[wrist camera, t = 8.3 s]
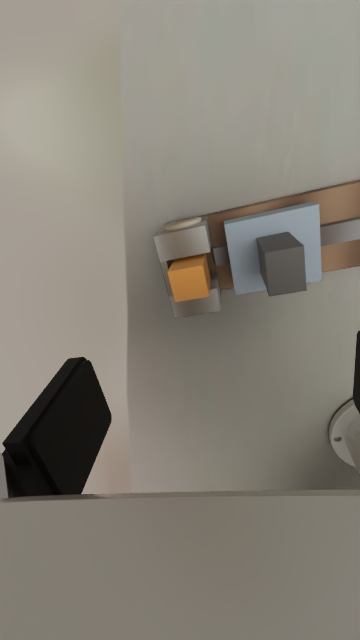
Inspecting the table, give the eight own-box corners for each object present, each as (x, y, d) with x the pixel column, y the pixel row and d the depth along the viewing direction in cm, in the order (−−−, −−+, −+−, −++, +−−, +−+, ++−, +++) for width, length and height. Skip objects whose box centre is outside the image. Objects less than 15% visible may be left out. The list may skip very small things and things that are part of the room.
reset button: (205, 252, 25) (202, 265, 21) (210, 279, 26) (209, 296, 22) (174, 258, 25) (167, 272, 22) (181, 285, 26) (175, 302, 23)
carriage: (311, 201, 24) (343, 212, 18) (315, 273, 26) (344, 305, 20) (223, 221, 25) (224, 237, 19) (234, 287, 28) (238, 321, 22)
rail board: (444, 156, 24) (516, 152, 18) (433, 247, 27) (491, 268, 21) (166, 220, 29) (152, 232, 23) (183, 291, 32) (174, 318, 26)
